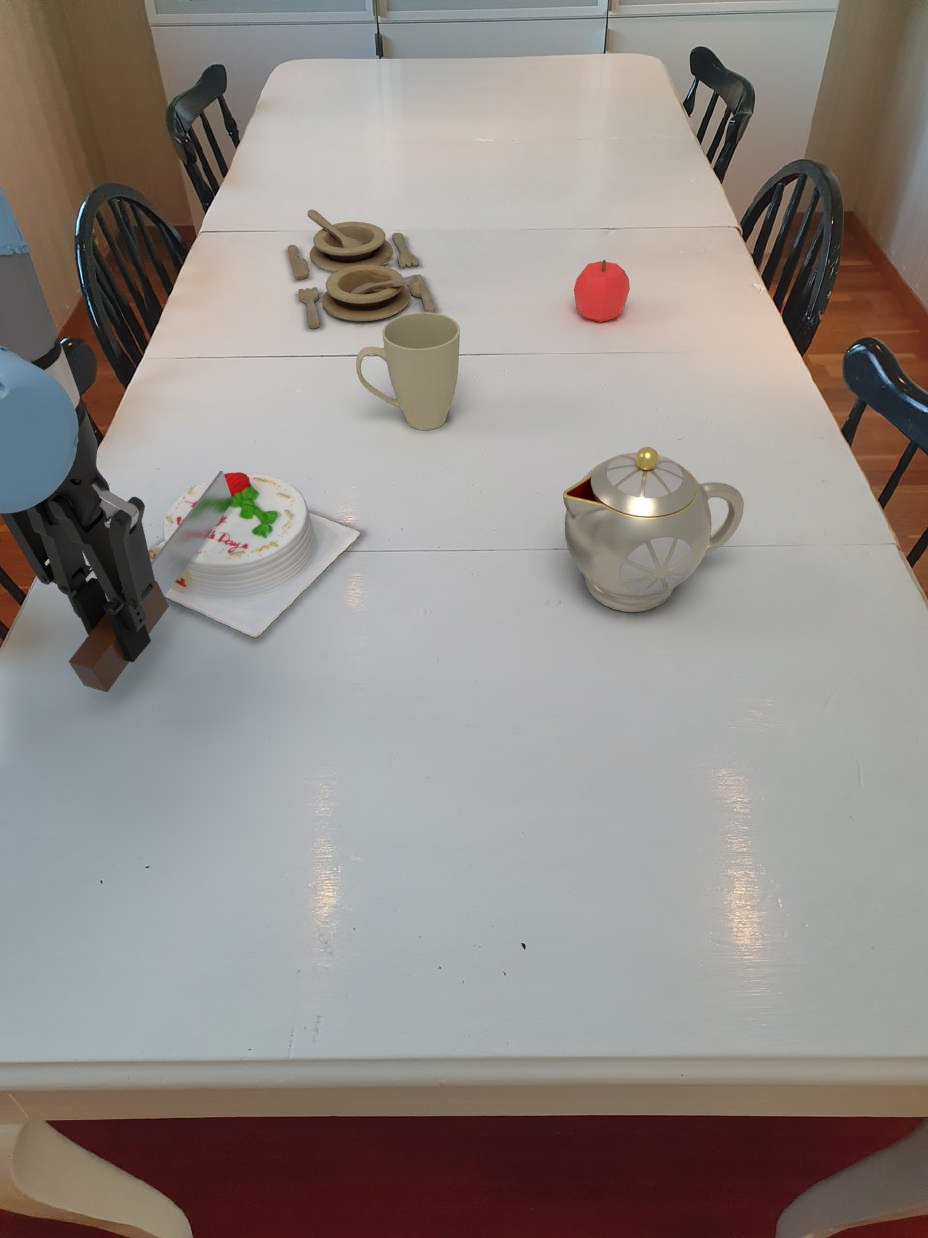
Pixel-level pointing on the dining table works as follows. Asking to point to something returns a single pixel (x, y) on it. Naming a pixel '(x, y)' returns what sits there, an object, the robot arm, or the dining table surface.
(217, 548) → the cake
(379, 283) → the tableware set
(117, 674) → the knife
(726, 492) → the teapot
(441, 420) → the mug
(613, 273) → the apple
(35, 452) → the robot arm
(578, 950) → the dining table surface
